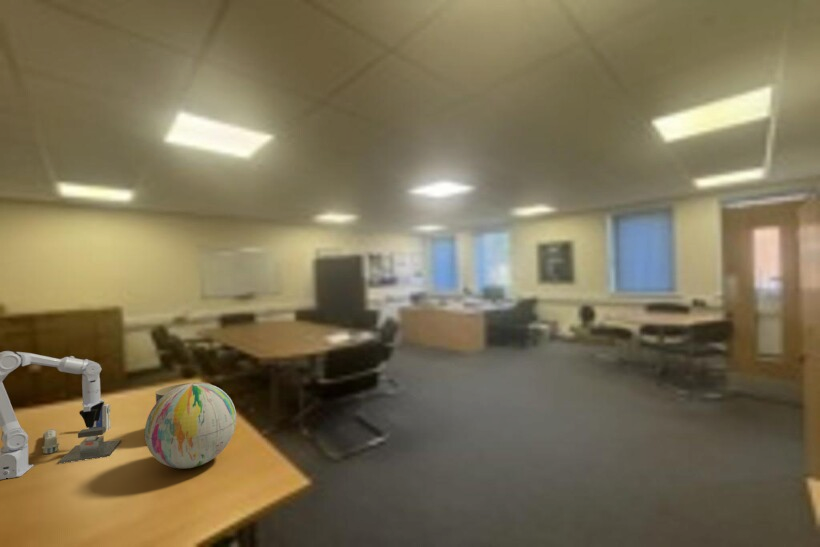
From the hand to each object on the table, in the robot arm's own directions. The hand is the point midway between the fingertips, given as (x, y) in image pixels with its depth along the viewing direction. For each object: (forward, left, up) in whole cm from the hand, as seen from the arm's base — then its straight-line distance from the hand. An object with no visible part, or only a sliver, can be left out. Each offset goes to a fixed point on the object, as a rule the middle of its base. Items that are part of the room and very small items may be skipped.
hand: (92, 423), depth 162 cm
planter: (+7, -32, -11) cm, 35 cm away
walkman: (+28, +6, -11) cm, 31 cm away
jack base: (-1, 0, -11) cm, 11 cm away
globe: (-31, -40, -11) cm, 52 cm away
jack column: (-1, 0, -10) cm, 10 cm away
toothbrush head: (+16, +20, -12) cm, 28 cm away
